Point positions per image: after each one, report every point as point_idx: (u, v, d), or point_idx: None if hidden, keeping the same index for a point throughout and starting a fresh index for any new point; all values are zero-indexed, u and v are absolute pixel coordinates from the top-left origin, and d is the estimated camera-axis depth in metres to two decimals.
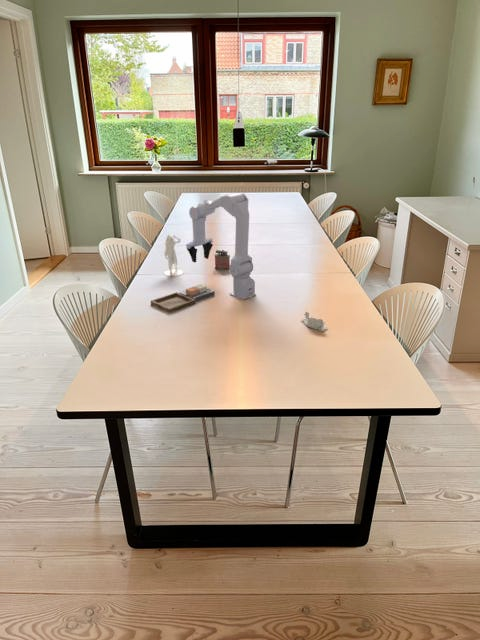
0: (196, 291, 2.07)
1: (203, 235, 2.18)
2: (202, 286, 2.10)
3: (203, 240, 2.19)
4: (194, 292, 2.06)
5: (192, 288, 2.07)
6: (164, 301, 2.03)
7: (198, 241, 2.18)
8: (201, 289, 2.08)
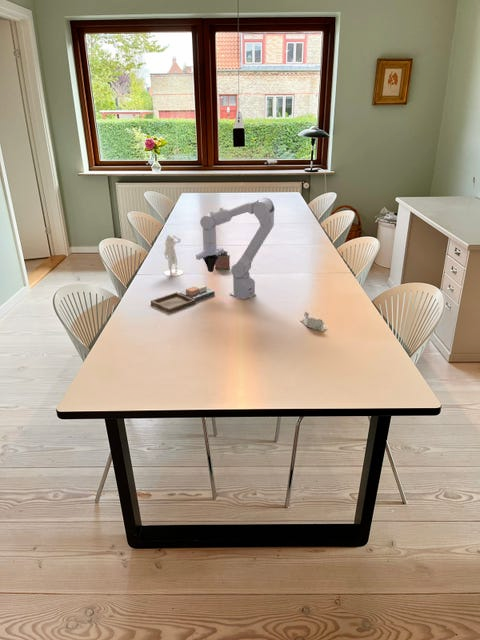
0: (196, 291, 2.07)
1: (214, 245, 2.05)
2: (202, 286, 2.10)
3: (214, 250, 2.06)
4: (194, 292, 2.06)
5: (192, 288, 2.07)
6: (164, 301, 2.03)
7: (209, 252, 2.05)
8: (201, 289, 2.08)
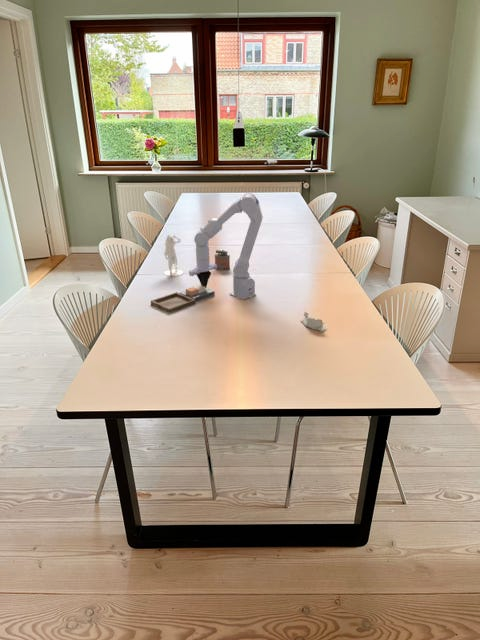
0: (196, 291, 2.06)
1: (207, 262, 2.05)
2: (201, 286, 2.09)
3: (207, 267, 2.06)
4: (194, 292, 2.06)
5: (192, 288, 2.07)
6: (164, 301, 2.03)
7: (202, 268, 2.05)
8: (200, 289, 2.08)
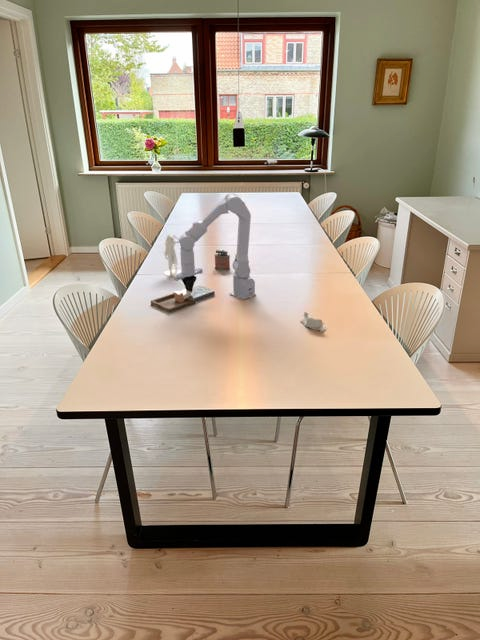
0: (181, 295, 2.01)
1: (192, 266, 1.99)
2: (186, 292, 2.04)
3: (192, 271, 2.00)
4: (181, 298, 2.01)
5: (176, 296, 2.02)
6: (164, 301, 2.03)
7: (186, 273, 1.99)
8: (185, 295, 2.02)
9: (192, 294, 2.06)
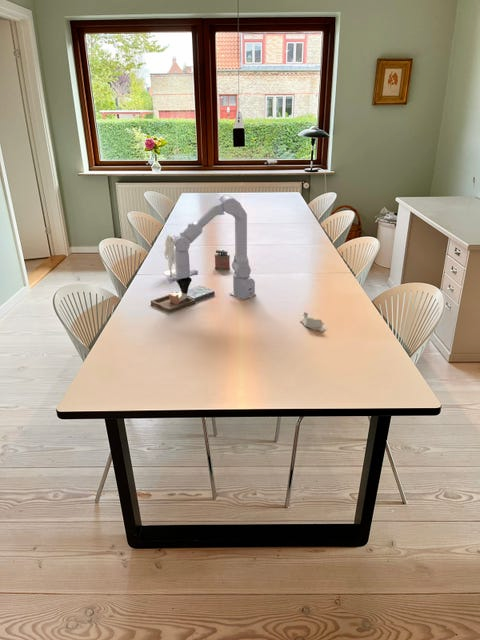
0: (176, 297, 1.99)
1: (187, 268, 1.98)
2: (181, 294, 2.02)
3: (187, 273, 1.98)
4: (176, 300, 2.00)
5: (171, 297, 2.00)
6: (164, 301, 2.03)
7: (181, 274, 1.98)
8: (180, 298, 2.01)
9: (192, 294, 2.06)
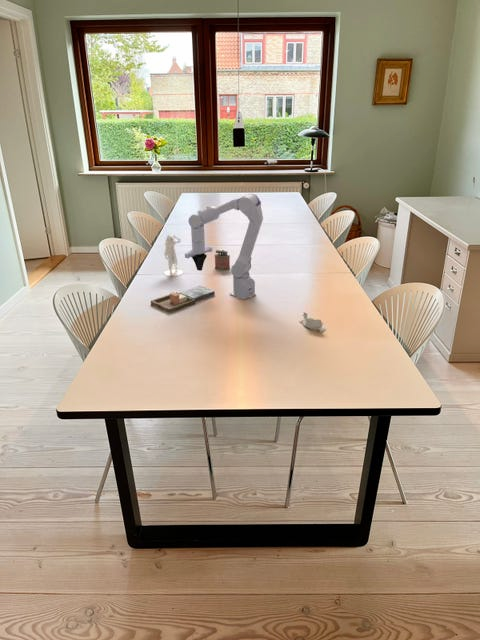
0: (177, 297, 1.99)
1: (202, 244, 2.07)
2: (182, 296, 2.03)
3: (202, 249, 2.08)
4: (177, 300, 2.00)
5: (172, 297, 2.01)
6: (164, 301, 2.03)
7: (197, 250, 2.07)
8: (181, 299, 2.01)
9: (192, 294, 2.06)
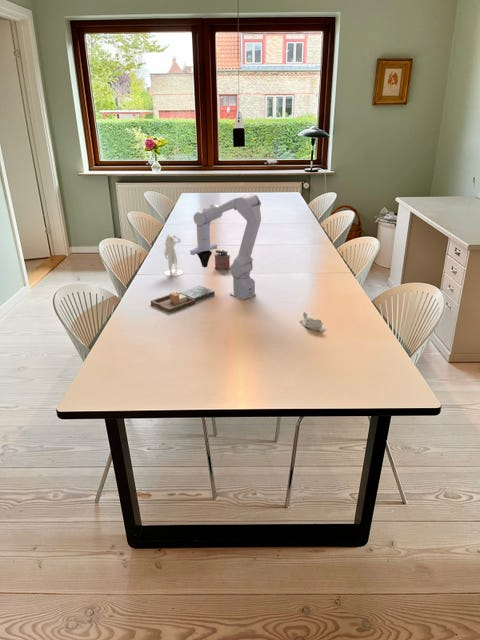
0: (177, 297, 1.99)
1: (208, 241, 2.11)
2: (182, 296, 2.03)
3: (208, 246, 2.12)
4: (177, 300, 2.00)
5: (172, 297, 2.01)
6: (164, 301, 2.03)
7: (202, 247, 2.11)
8: (181, 299, 2.01)
9: (192, 294, 2.06)
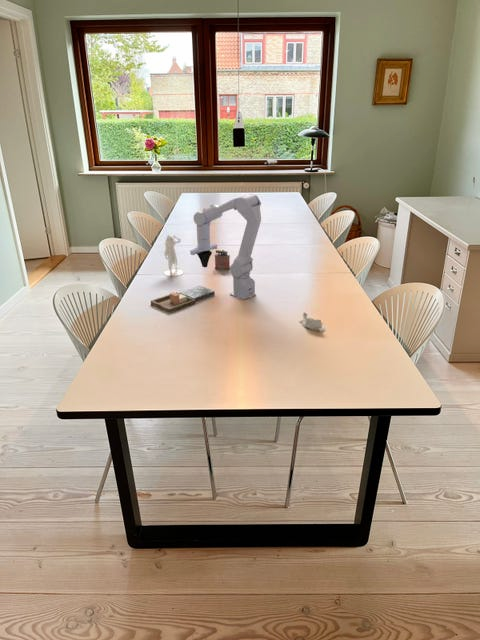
0: (177, 297, 1.99)
1: (208, 241, 2.11)
2: (182, 296, 2.03)
3: (208, 246, 2.12)
4: (177, 300, 2.00)
5: (172, 297, 2.01)
6: (164, 301, 2.03)
7: (202, 247, 2.11)
8: (181, 299, 2.01)
9: (192, 294, 2.06)
